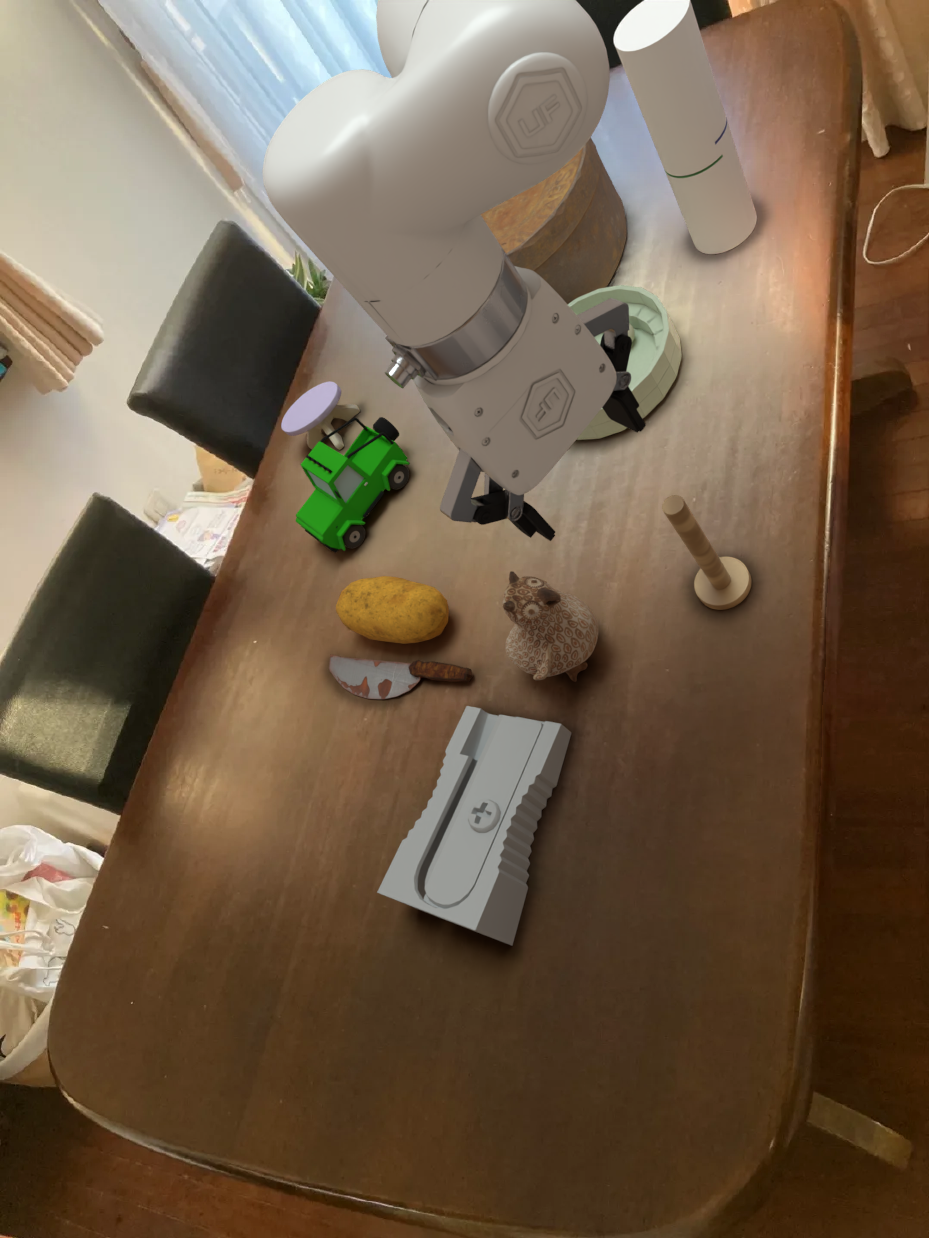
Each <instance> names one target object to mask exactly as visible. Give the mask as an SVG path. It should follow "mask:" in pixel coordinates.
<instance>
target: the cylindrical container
mask: <svg viewBox="0 0 929 1238" xmlns="http://www.w3.org/2000/svg"><path fill="white" fill-rule="evenodd" d="M613 45H614V47H615V50H616V52H617V55H618V57H619V60H620V63H621V65H622V67H623V70H624V72H625V75H626V77H627V80H628V82H629V85H630V87H631V90H632V92H633V95H634V97H635V100H636V102H637V105H638V108H639V111H640V112H641V115H642V118H643V120H644V123H645V125H646V128H647V130H648V133H649V136H650V138H651V140H652V142H653V145H654V147H655V150H656V153H657V155H658V158H659V160H660V162H661V165H662V168H663V170H664V173H665V175H666V178H667V180H668V183H669V185H670V188H671V190H672V193H673V196H674V198H675V200H676V203H677V205H678V208H679V210H680V213H681V215H682V218H683V221H684V223H685V226H686V228H687V230H688V233H689V235H690V238H691V240H692V243H693V245H694V248H695V249H696V250H697V251H698V252H700V253H702V254H706V255H715V254H717V255H718V254H722V253H726V252H728V251H731V250H732V249H734V248H736V247H738V246H739V245H741V244H742V243H744V242H745V241H746V240H747V239H748V238H749V237H750V235H752V233H753V232H754V229H755V228H756V225H757V222H758V221H757V220H758V217H757V211H756V208H755V205H754V202H753V198H752V195H751V192H750V189H749V186H748V182H747V179H746V176H745V173H744V169H743V167H742V162H741V160H740V156H739V154H738V153H739V152H738V150H737V147H736V143H735V140H734V137H733V134H732V130H731V128H730V123H729V121H728V117H727V114H726V112H725V111H726V110H725V107H724V105H723V101H722V98H721V95H720V92H719V89H718V86H717V85H718V84H717V82H716V79H715V76H714V73H713V72H714V71H713V68H712V66H711V64H710V63H711V62H710V60H709V55H708V53H707V50H706V47H705V43H704V41H703V37H702V33H701V30H700V27H699V24H698V20H697V17H696V14H695V11H694V8H693V4H692V1H691V0H642V1H641V2H639V3H638V4H637V5H635V6H634V7H633V8H632V9H631V10H630V11H628V13H627V14H626V15H625V16H624V17H623V18H622V19H621V21H620V22H619V23H618V26H617V27H616V29H615V31H614V34H613Z"/></svg>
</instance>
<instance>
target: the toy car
mask: <svg viewBox="0 0 929 1238" xmlns="http://www.w3.org/2000/svg"><path fill="white" fill-rule="evenodd" d="M353 422H357V424H358V425H360V426H361V427H362V428H363V429H362V430H361V431H360V432H359V433H358V436H356V438H355V440H354V441H353V442H352V444H351V445H350V446H349V448H348V449H346V452H345V453H344V454H342V453H341V452H338V451H337V450H335V449H334V448H332V447H330V446H329V445H328V444H325V443H324V442H325V441H326V440H327V439H330V438H329V437H331V436H332V435H334V434H335V433H338V432H340V431H342V430H343V429H344V428H346V427H348V426H349V425H350V424H352V423H353ZM399 436H400V432H399V430H398V429H397V427H396V426H394V424H393V423H392V422H390V421H389V420H388V419H387V418H385V417H383V416H379V417H378V419H377V420H376V421H375V422H373V424H372V428H371V427H369V426H367V425H365V424H364V423H363V422H362V421H361V420H360V419H358V418H357V416H354V417H353V418H351V419H350V420H349V421H346V422H345V423H344V424H342V425H340V426H339V427H338V428H336V429H335V430H334V431H333V432H331V433H330V434H328V435H327V434H326V435H324V438H322V440H321V441H319V442H318V443H317V444H316V446H315V447H314V448H313V449H311V451H310V452H309V453H308V454H307V455H306V456H305V458H304V460H303V461H302V462H301V463H300V467H301V468H302V470H303V472H304V474H305V476H306V477H307V478H308V480H309V482H310V484H311V485H312V486H313V488H314V490H313V492H312V493H311V494H310V496H309V497H308V498H307V499H306V501H305V502H304V503H303V504H302V506H301V507H300V509H299V510H298V511H297V513H295V517H296V518H295V522H296V523H297V524H298V525H299V526H300V527H301V528H302V529H303V530H304V532H305V533H307V534H309V535H310V536H311V537H312V538H313V539H315V540H316V541H317V542H319V543H320V544H322V545H323V546H324V547H326V548H327V549H328V550H329V551H331V552H333V553H334V554H336V553H338V551H339V550H342V551H344V552H345V551H346V548H347V549H355V548H358V547H359V546H361V545H362V544H363V542H364V541H365V538H366V528H365V527H364V525H365V524H366V522H365V521H363V520H364V519H366V518H367V517H368V516H369V515H370V513H371V512H372V510H373V509H374V508H375V507H376V505H377V504H378V503H379V501H380V500H381V498H382V497H383V496H384V494H385V492H384V491H385V490H387V491H389V492H390V491H391V489H393V490H400V489H402V488H404V486H406V485H407V483H408V481H409V479H410V470H409V468H408V466H409V465H410V464H411V463H410V462H409V461H407V460H408V459H409V458H408V456H407V455H406V454H405V452H404V451H403V449H402V448H401V447H400V446H399V445H398V444H397V442H396V440H397V439H398V438H399Z"/></svg>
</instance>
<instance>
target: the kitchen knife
mask: <svg viewBox="0 0 929 1238" xmlns="http://www.w3.org/2000/svg"><path fill="white" fill-rule="evenodd" d="M328 664H329V665H328V671H329V672H330V673H331V675H332V676H333V678H334V679H335V680H336V681H337V683H338V684H339V685H340V686H341V687H342V688H343V689H344V690H346V691H348V692H349V693H351V694H352V695H354V696H357V697H361V698H365V699H368V700H387V699H392V698H397V697H399V696H402V695H404V694H405V693H408V692H409V691H411V690H412V689H413V688H414V687H415V686H417V684H418V683H420V681H421V679H424V678H425V679H428V680H431V681H439V682H453V683H454V682H455V683H456V682H470V681H471V679H472V678H473V677H474V675H473V671H472V669H471V668H469V667H463V666H460V665H456V664H452V663H445V662H439V661H433V660H431V661H429V660H428V661H423V660H420V659H416V660H414V661H412V662H411V663H410V662H400V661H390V660H378V659H368V658H358V657H348V656H347V657H346V656H341V655H336V654H330V655H329V663H328Z"/></svg>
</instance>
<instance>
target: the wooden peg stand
mask: <svg viewBox="0 0 929 1238" xmlns="http://www.w3.org/2000/svg"><path fill="white" fill-rule="evenodd" d="M661 509H662V512H663V514H664V515H665V516H666V518H667V520H668V521H669V523H670V525H671V526H672V527H673V529H674V531H675V532H676V533H677V535H678V537H679V538H680V540H681V541H682V542H683V543H684V546H685V547H686V549H687V550H688V552H689V553H690V555H691V556H692V558H693V559H694V560H695V562H696V563H697V565H698V566H699V569H698V571H697V573H696V575H695V577H694V581H693V586H694V587H693V588H694V592H695V595H696V596H697V597H698V599H699V600H700V602H702V604H704V606H706V607H707V608H710V609H713V610H718V611H719V610H723V611H724V610H728V609H732V608H734V607H736V606H739V604H741V603H742V602H743V601H744V600H745V599H746V598H747V596H748V595H749V593H750V591H751V588H752V583H753V581H752V576H751V573H750V571H749V568H748V567H747V566H746V565H745V563H744V562H743V561H741V560H740V559H738V558H736V557H733V556H719V555H718V553H717V552H716V550H715V549H714V547H713V545H712V543H711V542H710V540H709V538H708V537H707V535H706V534H705V532H704V530H703V528H702V527H701V526H700V524H699V523H698V521H697V519H696V517H695V516H694V514H693V513H692V511H691V509H690V507H689V506H688V504H687V503H686V500H685V499H684V498H683V497H682V496H681V495H679V494H673V495H669V496H668V497H666V498H665V499H664V500H663V502H662V504H661Z"/></svg>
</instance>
